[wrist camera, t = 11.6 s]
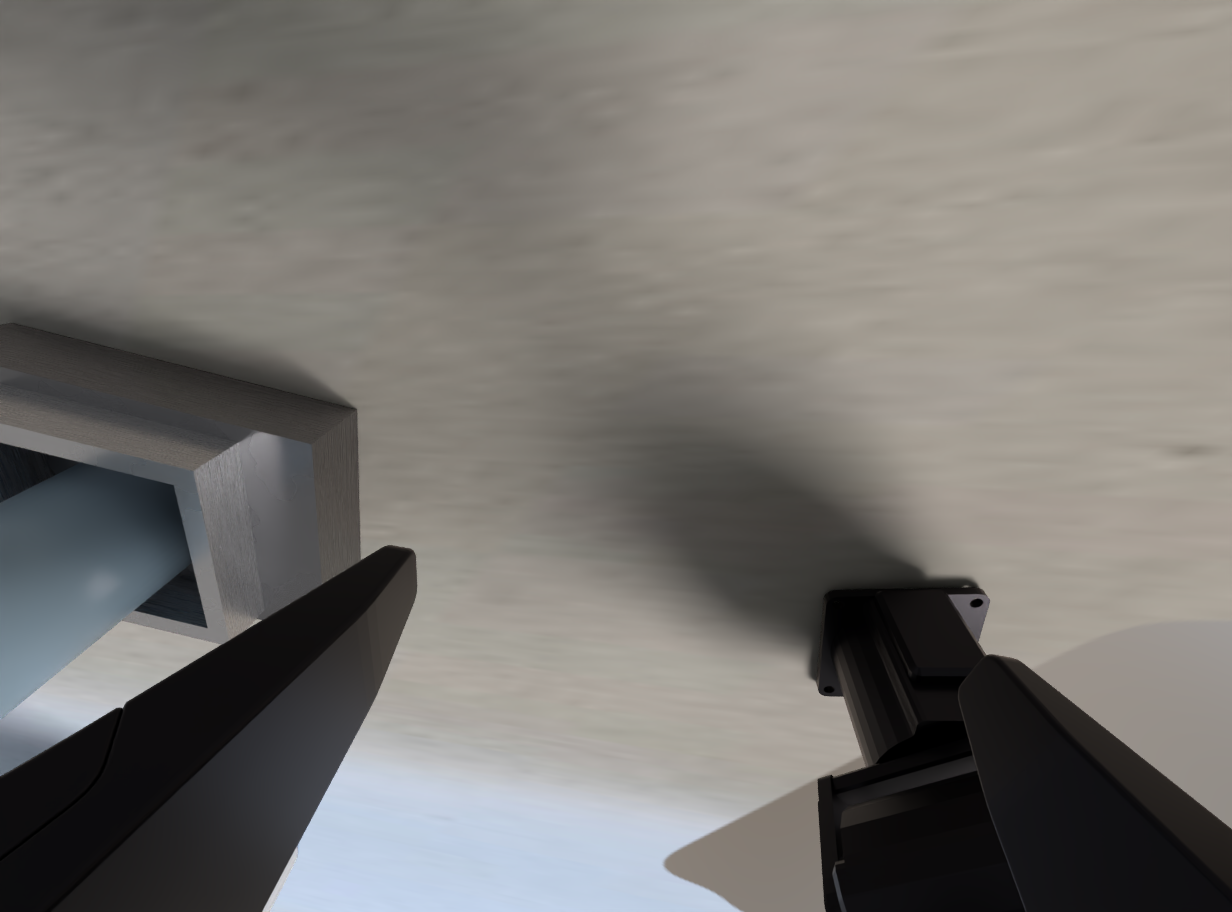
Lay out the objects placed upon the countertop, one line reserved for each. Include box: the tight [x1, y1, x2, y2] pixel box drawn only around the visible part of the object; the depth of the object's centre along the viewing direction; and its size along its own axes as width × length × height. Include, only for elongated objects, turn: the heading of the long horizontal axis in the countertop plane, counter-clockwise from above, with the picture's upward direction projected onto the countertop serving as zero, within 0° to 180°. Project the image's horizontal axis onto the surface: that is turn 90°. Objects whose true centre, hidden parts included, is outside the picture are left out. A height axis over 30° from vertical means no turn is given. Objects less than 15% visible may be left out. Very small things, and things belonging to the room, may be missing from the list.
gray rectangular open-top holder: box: [0, 323, 361, 644], centre depth 21 cm, size 14×10×5 cm
